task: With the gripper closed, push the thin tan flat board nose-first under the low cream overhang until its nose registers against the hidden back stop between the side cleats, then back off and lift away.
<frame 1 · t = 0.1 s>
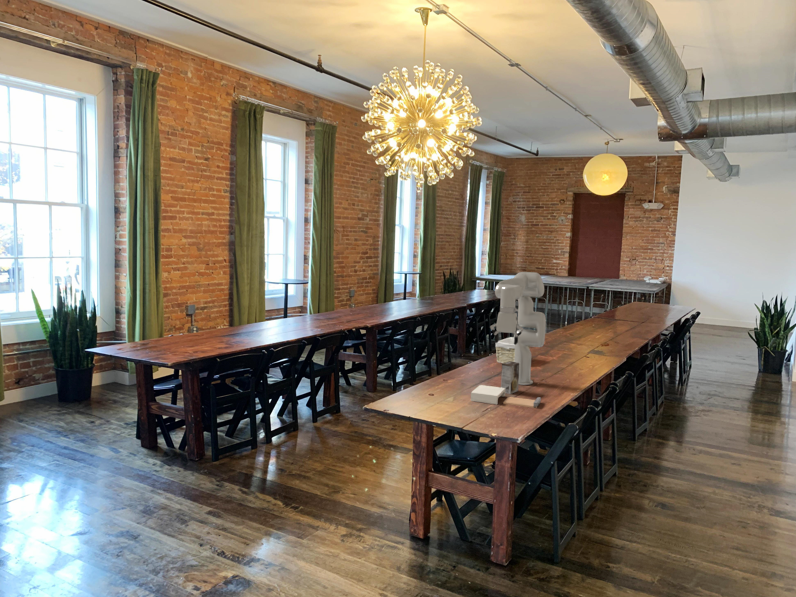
hand: (506, 343, 299), 31 cm above the table, fingers open, 9 cm apart
coffee box: (509, 391, 323), on the table
tan flat board: (522, 403, 302), on the table
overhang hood: (488, 398, 309), on the table
storage basket: (512, 361, 400), on the table
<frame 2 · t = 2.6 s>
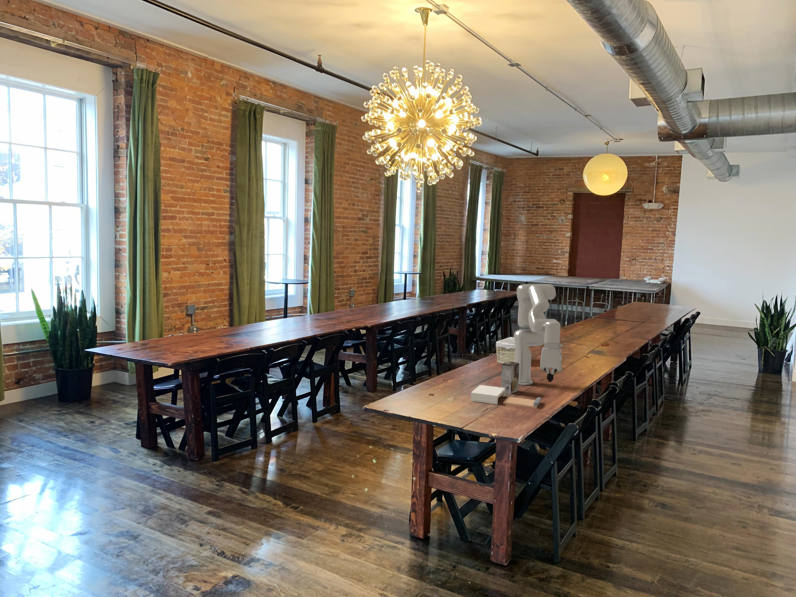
hand: (550, 381, 294), 13 cm above the table, fingers closed
nothing on the table moved.
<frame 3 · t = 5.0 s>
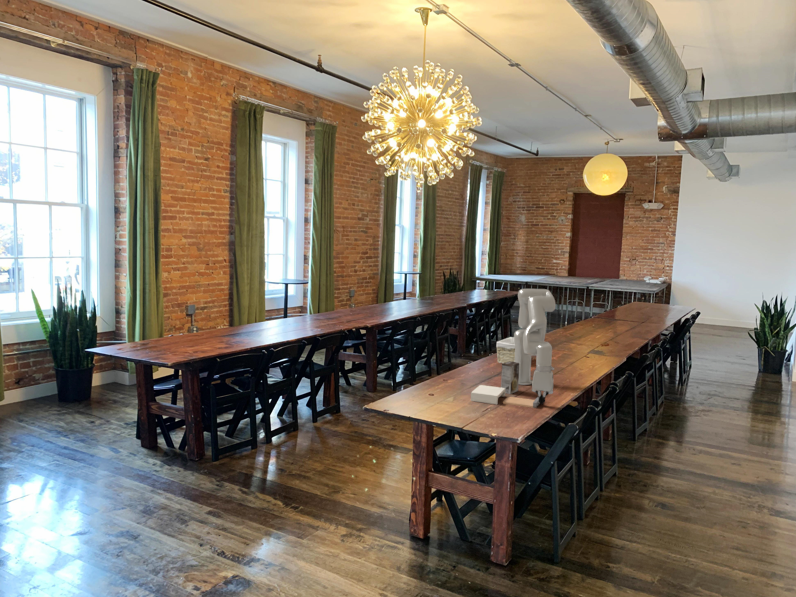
hand: (541, 403, 297), 1 cm above the table, fingers closed
tan flat board: (521, 403, 302), on the table, touching gripper
everything else where it was.
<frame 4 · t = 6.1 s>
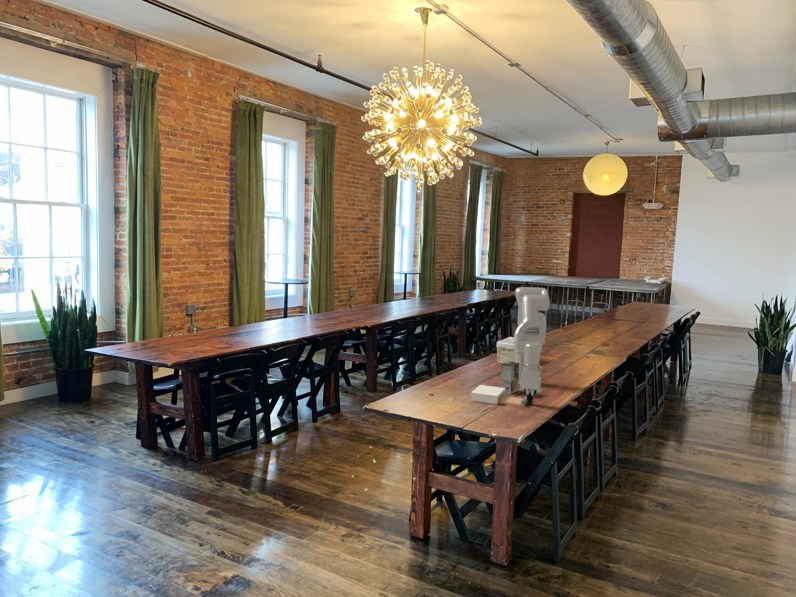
hand: (529, 401, 300), 1 cm above the table, fingers closed
tan flat board: (510, 401, 304), on the table, touching gripper
everything else where it was.
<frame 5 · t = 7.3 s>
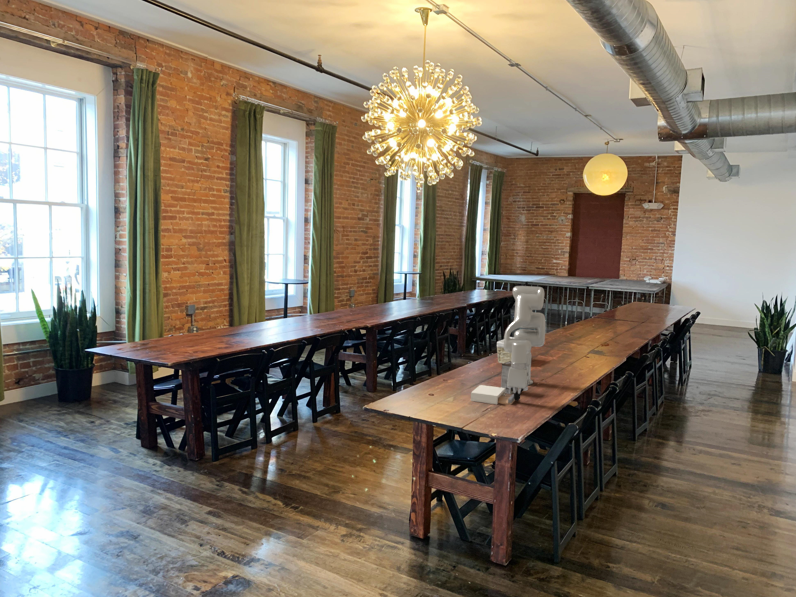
hand: (516, 400, 302), 1 cm above the table, fingers closed
tan flat board: (497, 400, 307), on the table
everything else where it was.
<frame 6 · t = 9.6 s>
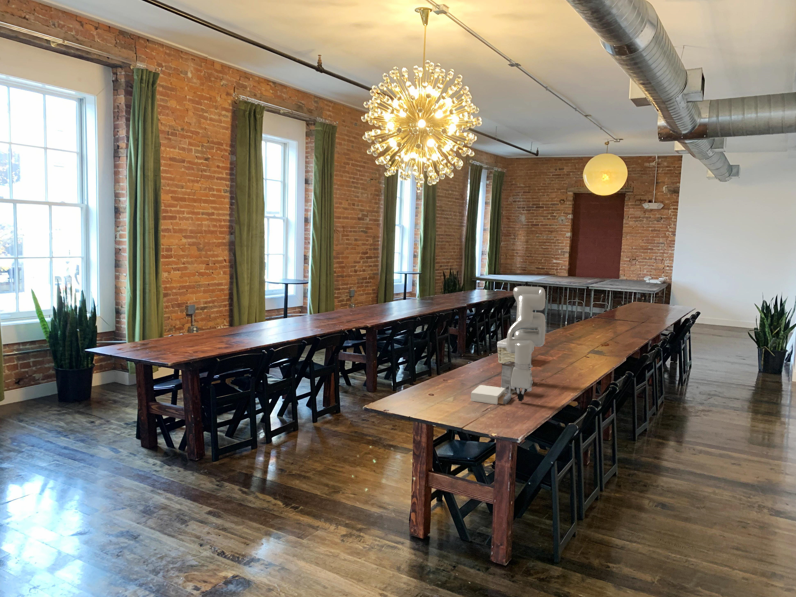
hand: (520, 400, 302), 1 cm above the table, fingers closed
tan flat board: (492, 399, 308), on the table
everything else where it was.
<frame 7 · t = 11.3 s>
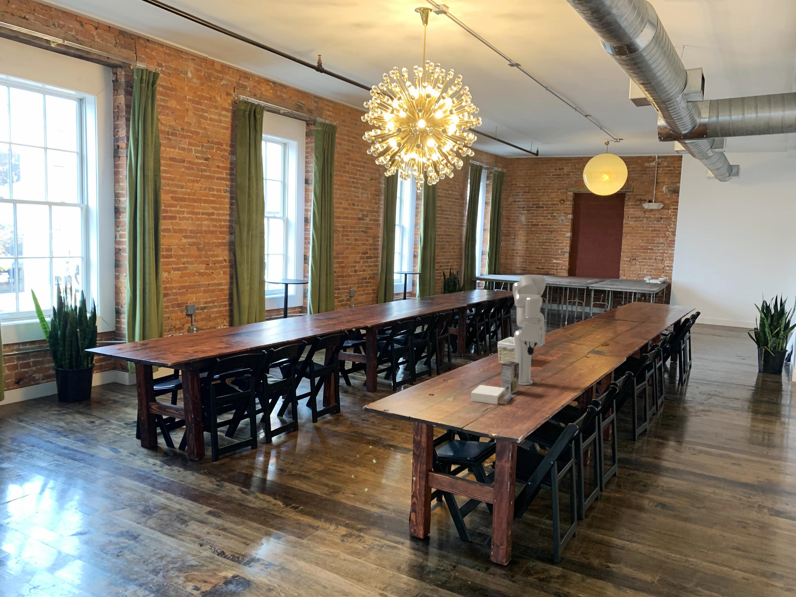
hand: (530, 354, 306), 24 cm above the table, fingers closed
nothing on the table moved.
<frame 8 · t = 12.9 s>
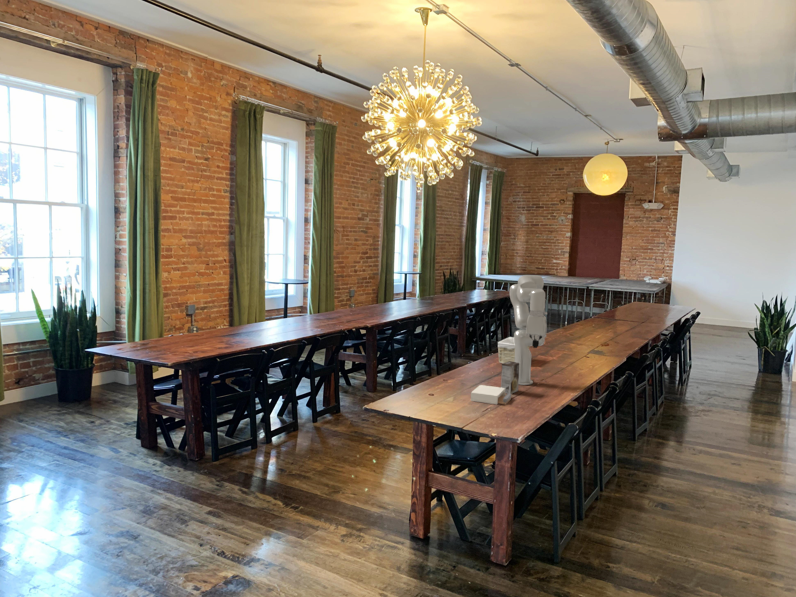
hand: (535, 347, 310), 27 cm above the table, fingers closed
at the end: tan flat board 0.4 cm from the target spot on the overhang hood, point 0.0 cm above the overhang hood's base; tan flat board tilted 0°; the gripper is holding nothing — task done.
